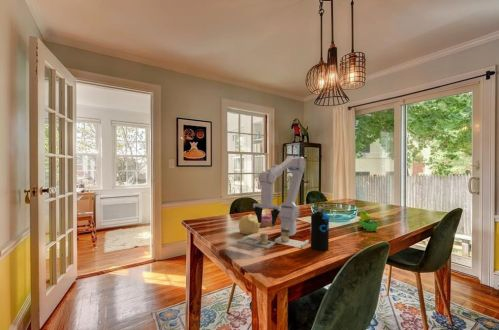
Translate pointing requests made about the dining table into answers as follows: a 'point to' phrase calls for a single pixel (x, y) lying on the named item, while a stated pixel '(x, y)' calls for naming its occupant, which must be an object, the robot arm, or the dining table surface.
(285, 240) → the plain peg
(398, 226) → the dining table surface
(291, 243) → the flanged base plate
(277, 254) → the dining table surface
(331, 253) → the dining table surface
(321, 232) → the aerosol can
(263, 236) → the banded peg
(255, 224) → the sculpture
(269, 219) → the donut
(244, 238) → the pin block
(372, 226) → the green lumpy piece
